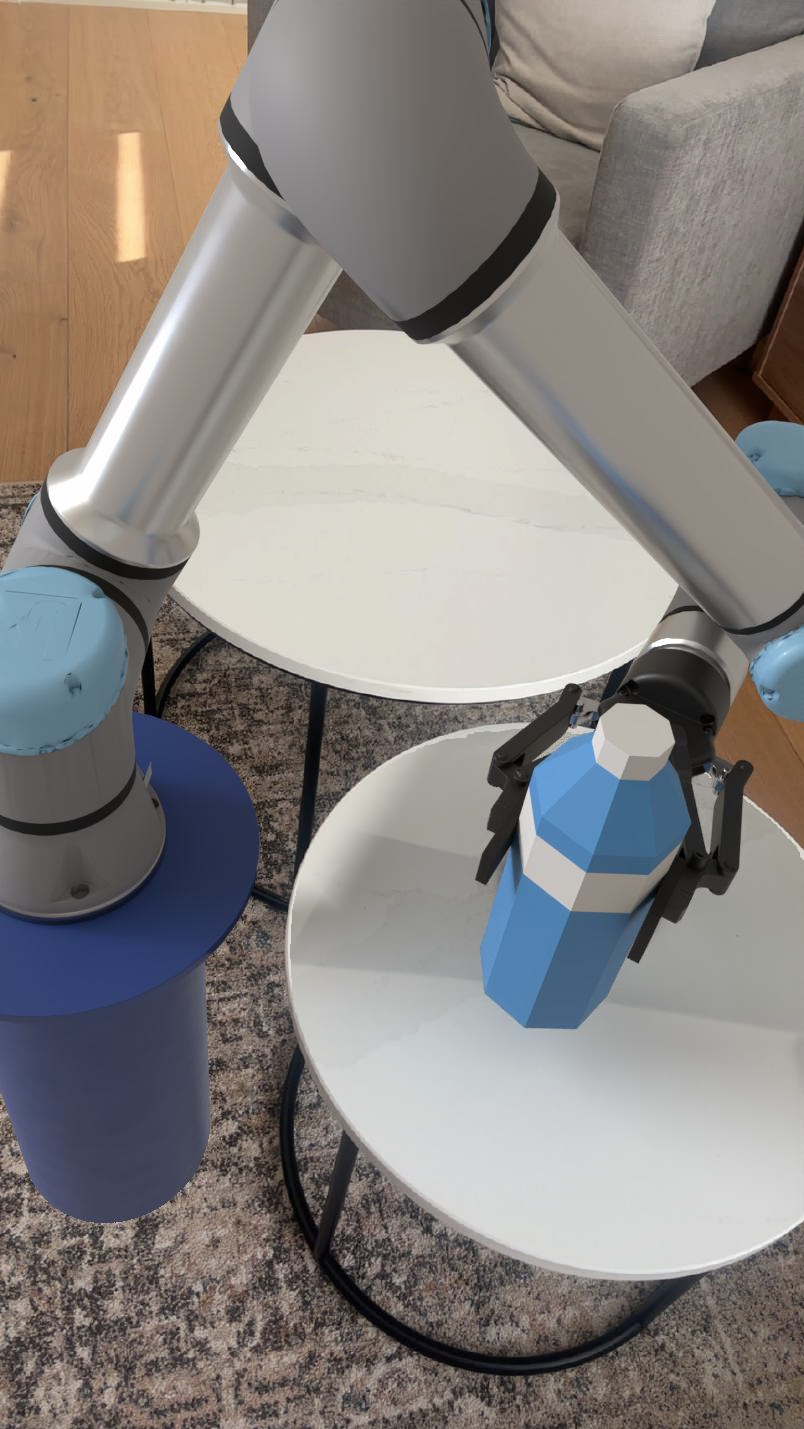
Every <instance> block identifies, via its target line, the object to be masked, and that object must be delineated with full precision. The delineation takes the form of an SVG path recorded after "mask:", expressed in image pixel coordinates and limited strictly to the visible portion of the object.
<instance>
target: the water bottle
mask: <svg viewBox="0 0 804 1429" xmlns="http://www.w3.org/2000/svg"><path fill="white" fill-rule="evenodd" d="M595 729H596V731H594V730H593V731H590V732H586V733H583V734H580V735H576V736H572V737H570V738H569V739H568V740H566V741H565V742H564V743H563V744H561V745H560V746H559V747H558V748H557V749H556V750H554V751H552V752H553V753H552V752H551V753H552V754H551V755H549V756H548V757H547V758H546V759H545V760H543V761H542V762H541V763H540V764H538V765H537V766H536V767H535V768H534V771H533V774H532V777H531V781H530V784H529V787H528V791H527V794H526V797H525V801H524V804H523V807H522V810H521V814H520V817H519V821H518V824H517V827H516V831H515V834H514V837H513V841H512V844H511V846H510V848H509V849H508V854H507V857H506V860H505V864H504V867H503V869H502V874H501V876H500V880H499V883H498V886H497V890H496V893H495V897H494V900H493V903H492V907H491V910H490V914H489V917H488V920H487V923H486V927H485V930H484V932H483V937H482V940H481V942H480V946H479V951H480V952H479V953H480V963H481V973H482V983H483V993H484V995H486V996H487V997H488V998H489V999H490V1000H491V1001H493V1003H495V1004H496V1005H497V1006H498V1007H500V1008H501V1009H502V1010H503V1011H504V1012H505V1013H506V1014H508V1015H509V1016H510V1017H511V1018H512V1019H513V1020H515V1022H517V1023H518V1024H519V1025H520V1026H521V1027H523V1029H547V1030H548V1029H550V1030H551V1029H553V1030H577V1029H579V1027H580V1026H581V1025H583V1023H584V1022H585V1021H586V1020H587V1019H588V1018H589V1017H590V1016H591V1015H592V1013H593V1012H594V1011H595V1010H596V1009H598V1007H599V1006H600V1004H602V1002H604V1000H605V999H606V998H607V997H608V995H609V993H610V992H611V989H612V988H613V985H614V983H615V981H616V979H617V977H618V975H619V973H620V970H621V969H622V967H623V965H624V963H625V961H626V959H627V956H628V954H629V952H630V949H631V947H632V945H633V943H634V941H635V939H636V937H637V935H638V932H639V930H640V928H641V926H642V924H643V922H644V920H645V918H646V915H647V913H648V911H649V909H650V907H651V905H652V903H653V901H654V898H655V896H656V894H657V892H658V890H659V888H660V886H661V884H662V882H663V880H664V878H665V876H666V874H667V872H668V870H669V868H670V866H671V864H672V862H673V860H674V858H675V856H676V853H677V851H678V849H679V847H680V845H681V843H682V841H683V839H684V837H685V835H686V833H687V831H688V829H689V827H690V825H691V820H690V816H689V812H688V809H687V805H686V801H685V798H684V794H683V790H682V787H681V783H680V780H679V776H678V774H677V772H676V771H675V769H674V767H673V766H672V764H671V763H670V761H669V759H668V758H669V755H670V753H671V751H672V748H673V746H674V744H675V740H674V737H673V733H672V729H671V726H670V722H669V720H667V719H666V718H664V717H663V716H661V715H660V714H658V713H657V712H655V711H654V710H652V709H651V708H649V707H648V706H646V705H640V704H622V703H617V704H615V705H614V706H613V707H612V708H611V709H609V710H608V711H607V712H606V713H604V714H603V715H602V716H601V717H600V719H599V722H598V725H597V728H595Z"/></svg>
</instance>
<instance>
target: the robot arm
mask: <svg viewBox="0 0 804 1429" xmlns="http://www.w3.org/2000/svg"><path fill="white" fill-rule="evenodd" d="M489 10H490V9H489V4H488V0H274V1H273V3H272V5H271V7H270V10H269V11H268V14H267V16H266V18H265V20H264V22H263V23H262V26H261V29H260V30H259V32H258V34H257V37H256V38H255V40H254V43H253V44H252V47H251V49H250V51H249V52H248V55H247V57H246V59H245V61H244V63H243V65H242V68H241V70H240V72H239V74H238V76H237V78H236V80H235V82H234V85H233V86H232V89H231V91H230V93H229V95H228V96H227V99H226V102H225V103H224V106H223V108H222V110H221V112H220V114H219V116H218V119H217V123H216V124H217V132H218V137H219V139H220V142H221V145H222V148H223V151H224V154H225V158H226V160H227V165H226V166H225V169H224V171H223V172H222V175H221V177H220V178H219V181H218V182H217V184H216V186H215V189H214V191H213V192H212V195H211V197H210V199H209V200H208V203H207V205H206V207H205V209H204V211H203V213H202V215H201V216H200V219H199V221H198V222H197V224H196V227H195V228H194V231H193V233H192V234H191V237H190V238H189V241H188V242H187V244H186V246H185V248H184V250H183V252H182V254H181V256H180V259H179V261H178V263H177V264H176V267H175V269H174V271H173V273H172V275H171V276H170V278H169V281H168V283H167V285H166V286H165V289H164V290H163V292H162V294H161V296H160V299H159V301H158V302H157V305H156V306H155V308H154V310H153V313H152V314H151V316H150V319H149V321H148V323H147V325H146V327H144V328H145V329H144V330H143V333H142V334H141V337H140V339H139V340H138V342H137V344H136V347H135V348H134V350H133V353H132V355H131V356H130V359H129V360H128V362H127V364H126V366H125V368H124V371H123V372H122V374H121V376H120V379H119V380H118V382H117V385H116V387H115V388H114V390H113V392H112V394H111V396H110V399H109V400H108V402H107V404H106V406H105V408H104V410H103V412H102V414H101V416H100V418H99V420H98V422H97V424H96V426H95V428H94V431H93V432H92V434H91V437H90V438H89V440H88V442H87V445H86V446H82V447H76V448H73V449H71V450H68V451H66V452H64V453H62V454H61V455H59V456H58V457H57V458H56V459H55V460H54V462H53V463H52V465H51V466H50V468H49V470H48V472H47V474H46V476H45V477H44V480H43V482H42V485H41V487H40V489H39V491H38V492H37V493H36V494H34V496H33V497H32V499H31V500H30V502H29V504H28V506H27V508H26V510H25V512H24V515H23V517H22V521H21V525H20V528H19V532H18V534H17V536H16V538H15V540H14V542H13V544H12V547H11V549H10V551H9V553H8V555H7V558H6V560H5V562H4V564H3V566H2V569H1V570H0V912H2V913H4V914H6V915H8V916H10V917H13V918H15V919H18V920H22V921H25V922H30V923H35V924H44V925H63V924H72V923H78V922H83V921H87V920H91V919H94V918H97V917H100V916H102V915H105V914H107V913H109V912H111V911H114V910H116V909H117V908H119V907H121V906H123V905H124V904H126V903H127V902H128V901H130V900H131V899H133V898H134V897H135V896H136V895H137V894H139V893H140V892H141V891H142V890H143V889H144V888H145V887H146V885H147V884H148V883H149V882H150V881H151V879H152V878H153V876H154V875H155V873H156V872H157V870H158V868H159V866H160V864H161V861H162V859H163V856H164V852H165V847H166V824H165V816H164V812H163V809H162V806H161V803H160V801H159V798H158V796H157V794H156V792H155V791H154V789H153V788H152V786H151V785H150V784H149V780H150V778H151V775H152V769H151V762H150V765H149V768H148V770H147V773H146V776H145V775H144V774H143V772H142V771H141V769H140V768H139V766H138V765H137V763H136V758H135V746H134V735H133V724H132V711H133V707H134V699H135V695H136V692H137V688H138V685H139V680H140V677H141V674H142V670H143V666H144V663H145V659H146V655H147V652H148V648H149V645H150V642H151V638H152V634H153V631H154V629H155V628H154V627H155V624H156V620H157V618H158V614H159V612H160V609H161V607H162V605H163V603H164V602H165V599H166V597H167V595H168V594H169V592H170V590H171V589H172V587H173V586H174V584H175V582H176V581H177V579H178V578H179V576H180V575H181V573H182V571H183V570H184V568H185V567H186V566H187V563H189V562H188V561H189V560H190V559H191V557H192V555H193V554H194V552H195V551H196V549H197V548H198V545H199V542H200V537H201V536H200V535H201V527H200V522H199V518H198V515H197V513H196V509H197V508H198V506H199V504H200V503H201V501H202V500H203V498H204V496H205V494H206V492H208V490H209V488H210V487H211V485H212V483H213V482H214V480H215V478H216V476H217V475H218V474H219V472H220V470H221V469H222V467H223V465H224V464H225V462H226V460H227V459H228V457H229V455H230V454H231V452H232V451H233V449H234V447H235V445H236V444H237V443H238V441H239V439H240V438H241V436H242V434H243V433H244V431H245V430H246V428H247V426H248V425H249V424H250V422H251V420H252V418H253V416H255V413H256V412H257V410H258V408H259V406H261V404H262V402H263V400H264V399H265V397H266V395H267V394H268V392H269V390H270V389H271V388H272V385H273V384H274V382H276V381H275V380H276V379H277V378H278V376H279V375H280V373H281V371H282V369H283V368H284V366H285V364H287V362H288V360H289V358H290V356H291V355H292V353H293V351H294V350H295V348H296V347H297V345H298V344H299V342H300V341H301V339H302V337H303V335H304V334H305V332H306V331H307V329H308V327H309V325H311V322H312V321H313V319H314V318H315V316H316V315H317V313H318V311H319V309H320V308H321V306H322V304H323V303H324V301H325V299H326V298H327V296H328V295H329V293H330V291H331V290H332V288H333V286H334V285H335V284H336V282H337V280H338V278H339V277H340V275H341V274H342V272H343V271H344V272H345V273H346V275H348V276H349V277H350V278H351V280H352V281H353V282H354V283H355V284H356V285H357V286H358V287H359V288H360V289H361V290H362V291H363V292H364V294H366V295H367V296H368V298H369V299H370V300H371V301H372V302H373V303H374V304H376V307H378V308H379V309H380V310H381V311H382V312H383V313H384V314H385V315H386V316H387V317H389V319H390V320H392V321H393V322H394V323H395V324H396V326H397V327H398V328H399V329H400V330H401V331H403V333H405V335H407V337H408V338H409V339H410V340H411V341H413V342H414V343H415V344H417V345H440V344H443V345H446V347H447V348H448V349H450V351H451V352H453V354H454V355H455V356H456V357H457V358H458V359H459V360H460V361H461V362H462V363H463V365H465V366H466V367H467V368H468V369H469V370H470V371H471V372H472V374H474V376H476V377H477V379H478V380H480V382H481V383H482V384H483V385H485V387H486V388H487V389H488V390H489V391H490V392H491V393H492V394H493V395H494V396H495V397H496V398H497V399H498V400H499V401H500V402H501V403H502V404H503V405H504V406H505V408H507V409H508V410H509V412H510V413H512V414H513V415H514V416H515V418H516V419H517V420H518V421H519V422H520V423H521V424H522V425H523V426H524V427H525V428H526V429H527V430H528V432H530V433H531V434H532V435H533V436H534V438H535V439H537V441H539V442H540V444H542V445H543V447H545V448H546V450H547V451H548V452H549V453H550V454H551V455H552V456H553V457H554V458H555V459H556V460H557V461H558V462H559V463H560V465H562V466H563V467H564V468H565V469H566V470H567V471H568V473H569V474H571V475H572V476H573V478H575V479H576V481H577V482H578V483H579V484H580V485H581V486H582V487H583V488H584V489H585V490H586V491H587V492H588V493H589V494H590V495H591V496H592V497H593V498H594V499H595V500H596V501H597V503H599V504H600V506H602V507H603V508H604V509H605V510H606V511H607V513H608V514H609V515H610V516H611V517H612V518H613V519H614V520H615V521H616V522H617V523H618V524H619V525H620V526H621V527H622V528H623V529H624V530H625V531H626V532H627V533H628V534H629V536H630V537H632V538H633V539H634V541H636V543H638V544H639V545H640V547H641V548H642V549H643V550H644V551H645V552H646V553H647V554H648V555H649V556H650V557H651V558H652V559H653V561H655V563H657V564H658V565H659V566H660V567H661V568H662V569H663V570H664V572H666V573H667V575H668V576H669V577H670V578H672V580H673V581H674V582H675V583H676V584H677V585H678V586H677V589H676V591H675V593H674V595H673V597H672V599H671V601H670V602H669V605H668V606H667V609H666V610H665V612H664V613H663V616H662V617H661V620H660V621H659V622H658V623H657V625H656V627H655V628H654V629H653V630H652V632H651V633H650V635H649V636H648V639H647V640H646V642H645V643H644V645H643V647H642V648H641V650H640V651H639V653H638V655H637V657H636V659H635V661H634V662H633V664H632V665H631V667H630V668H629V670H628V672H627V673H626V674H625V676H624V678H623V680H622V681H621V683H620V684H619V686H618V688H617V689H616V691H615V693H614V694H613V695H611V697H609V698H606V699H604V700H602V701H601V702H600V701H597V700H593V699H591V698H588V697H586V696H583V695H582V692H583V689H582V687H581V686H580V685H579V684H577V683H573V682H570V683H569V682H568V683H567V684H565V686H564V688H563V690H562V692H561V694H560V696H559V698H558V700H557V701H556V702H555V703H554V704H552V705H551V706H550V707H549V708H548V709H546V710H545V711H544V712H542V713H541V714H540V715H539V716H537V717H536V718H535V719H534V720H532V721H531V722H530V723H529V724H528V725H526V726H525V727H524V728H522V729H521V730H519V732H517V733H516V734H514V735H513V736H512V737H510V738H509V739H508V740H507V741H506V742H504V743H503V744H502V745H501V746H499V747H498V748H497V749H496V750H494V752H493V754H492V756H491V761H490V764H489V769H488V772H487V776H486V782H487V783H488V785H489V786H491V787H493V788H500V790H501V793H500V795H499V796H498V797H497V799H496V800H495V802H494V804H493V805H492V806H491V808H490V810H489V815H488V819H487V822H486V830H487V831H489V832H490V833H493V835H492V838H491V839H490V840H489V842H488V844H487V845H486V846H485V848H484V849H483V851H482V852H481V856H480V860H479V864H478V867H477V870H476V875H475V878H474V881H476V882H478V883H479V884H482V885H484V886H487V885H488V883H489V881H490V880H491V878H492V877H493V875H494V873H495V872H496V871H497V869H498V867H499V865H500V864H501V863H502V860H503V859H504V857H505V856H506V854H507V852H509V850H510V847H511V844H512V841H513V837H514V834H515V831H516V827H517V824H518V821H519V817H520V814H521V810H522V807H523V804H524V801H525V797H526V794H527V791H528V787H529V784H530V781H531V777H532V774H533V771H534V768H535V767H536V766H537V765H538V764H540V763H541V762H542V761H543V760H545V759H546V758H547V757H548V756H549V755H551V754H552V753H553V752H554V751H552V752H550V753H548V754H545V755H543V756H542V757H540V755H542V754H543V753H544V752H545V751H547V750H548V749H549V748H551V747H552V746H553V745H554V744H555V743H556V742H558V741H559V740H560V739H561V738H563V736H564V735H565V734H566V733H567V731H568V730H569V728H570V729H572V730H575V729H577V727H578V726H580V725H582V724H583V723H584V722H585V721H593V725H594V727H595V729H594V730H593V731H596V728H597V725H598V722H599V719H600V717H601V716H602V715H603V714H604V713H606V712H607V711H608V710H609V709H611V708H612V707H613V706H614V705H615V704H617V703H622V704H640V705H646V706H648V707H649V708H651V709H652V710H654V711H655V712H657V713H658V714H660V715H661V716H663V717H664V718H666V719H667V720H669V722H670V726H671V729H672V733H673V737H674V740H675V744H674V746H673V748H672V751H671V753H670V755H669V758H668V759H669V761H670V763H671V764H672V766H673V767H674V769H675V771H676V772H677V774H678V776H679V780H680V783H681V787H682V790H683V794H684V798H685V801H686V805H687V809H688V812H689V816H690V820H691V825H690V827H689V829H688V831H687V833H686V835H685V837H684V839H683V841H682V843H681V845H680V847H679V849H678V851H677V853H676V856H675V858H674V860H673V862H672V864H671V866H670V868H669V870H668V872H667V874H666V876H665V878H664V880H663V882H662V884H661V886H660V888H659V890H658V892H657V894H656V896H655V898H654V901H653V903H652V905H651V907H650V909H649V911H648V913H647V915H646V917H645V919H644V921H643V923H642V925H641V927H640V930H639V932H638V934H637V936H636V938H635V940H634V942H633V944H632V946H631V948H630V950H629V952H628V954H627V956H626V959H628V960H630V961H632V962H634V963H636V964H640V962H641V960H642V958H643V956H644V954H645V952H646V950H647V949H648V946H649V944H650V942H651V940H652V939H653V936H654V933H655V932H656V930H657V928H658V925H659V923H660V921H661V918H663V919H665V920H667V921H669V922H670V923H672V924H677V923H679V922H681V920H682V919H683V917H684V916H685V913H686V912H687V910H688V908H689V905H690V903H691V902H692V899H693V896H694V894H695V892H696V890H697V889H701V888H702V889H703V888H704V889H708V891H709V893H712V894H713V895H715V896H724V895H725V894H726V893H727V891H728V889H729V888H730V886H731V884H732V882H733V880H734V879H735V877H736V876H737V873H738V871H739V869H740V862H741V860H740V858H741V842H742V841H741V840H742V826H743V806H744V803H743V802H744V790H745V788H746V786H747V784H748V782H749V780H750V778H751V776H752V774H753V772H754V771H755V770H754V769H755V767H754V765H753V763H752V762H750V761H749V760H746V759H739V760H737V761H736V762H735V764H733V763H732V762H730V761H728V760H726V759H724V758H723V757H720V756H718V755H717V750H716V746H715V742H716V739H717V737H718V735H719V733H720V731H721V729H722V727H723V724H724V722H725V721H726V719H727V716H728V714H729V711H730V710H731V707H732V705H733V703H734V701H735V699H736V697H737V695H738V693H739V691H740V689H741V687H742V685H743V683H744V682H745V679H746V677H747V675H748V673H750V678H751V679H750V680H751V682H752V683H753V684H754V685H755V687H756V690H757V691H758V695H759V697H760V699H761V701H762V702H763V704H764V705H765V707H766V708H768V710H769V711H771V712H772V713H773V714H775V715H777V716H778V717H781V718H783V719H786V720H790V721H793V722H798V723H799V722H800V723H804V425H802V424H800V423H796V422H789V421H779V420H764V421H760V422H759V421H758V422H756V423H753V424H751V425H749V426H747V427H745V428H744V429H743V430H742V431H740V432H739V434H738V435H737V437H736V438H735V440H734V439H733V438H732V437H731V435H729V433H728V432H727V431H726V429H725V428H724V427H723V426H722V425H721V424H720V422H719V421H718V420H717V419H716V418H715V416H714V415H713V414H712V413H711V411H710V410H709V409H708V408H707V407H706V405H705V404H704V403H703V402H702V400H700V398H699V397H698V395H697V394H696V393H695V392H694V390H692V388H691V387H690V386H689V385H688V383H687V381H685V380H684V379H683V377H682V376H681V375H680V374H679V372H678V371H677V370H676V369H675V368H674V367H673V365H672V364H671V363H670V361H669V360H668V359H667V358H666V357H665V356H664V354H663V353H662V352H661V351H660V350H659V348H658V347H657V346H656V345H655V343H654V342H653V341H652V340H651V338H649V336H648V335H647V334H646V333H645V332H644V330H643V329H642V328H641V326H640V325H639V324H638V323H637V322H636V321H635V319H634V318H633V317H632V316H631V314H630V313H629V312H628V311H627V310H626V308H625V307H624V306H623V305H622V303H621V302H620V300H618V299H617V297H616V296H615V295H614V294H613V292H611V290H610V289H609V288H608V286H607V285H606V284H605V283H604V282H603V281H602V279H601V277H599V276H598V274H597V273H596V272H595V271H594V269H593V268H592V267H591V265H590V264H589V263H588V262H587V261H586V259H584V258H583V256H582V255H581V253H580V252H579V251H578V250H577V249H576V248H575V247H574V245H573V244H572V243H571V242H570V240H569V239H568V238H567V236H565V234H564V233H563V232H562V231H561V229H559V216H560V210H561V196H560V193H559V191H558V190H557V188H556V187H555V185H554V184H553V183H552V182H551V180H550V179H549V178H548V177H547V176H546V174H545V173H544V172H543V171H542V169H541V168H540V167H539V166H538V164H537V163H536V162H535V160H534V159H533V158H532V156H531V154H530V153H529V151H528V150H527V149H526V147H525V145H524V144H523V141H522V140H521V139H520V137H519V135H518V134H517V132H516V130H515V128H514V126H513V124H512V122H511V120H510V118H509V115H508V113H507V112H506V109H505V108H504V106H503V103H502V101H501V99H500V95H499V93H498V91H497V87H496V85H495V82H494V79H493V76H492V71H491V63H490V62H491V60H490V52H491V46H492V45H491V44H492V43H491V42H492V24H491V16H490V11H489ZM538 757H539V758H538ZM706 773H707V775H709V776H710V778H711V783H710V785H711V788H712V791H711V792H712V794H713V795H714V796H716V798H715V801H714V804H713V810H712V820H711V821H712V822H711V834H710V847H709V853H708V851H707V848H706V843H705V839H704V834H703V829H702V825H701V820H700V816H699V810H698V806H697V802H696V797H695V792H694V787H693V781H692V780H693V778H695V777H699V776H701V775H704V774H706Z"/></svg>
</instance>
